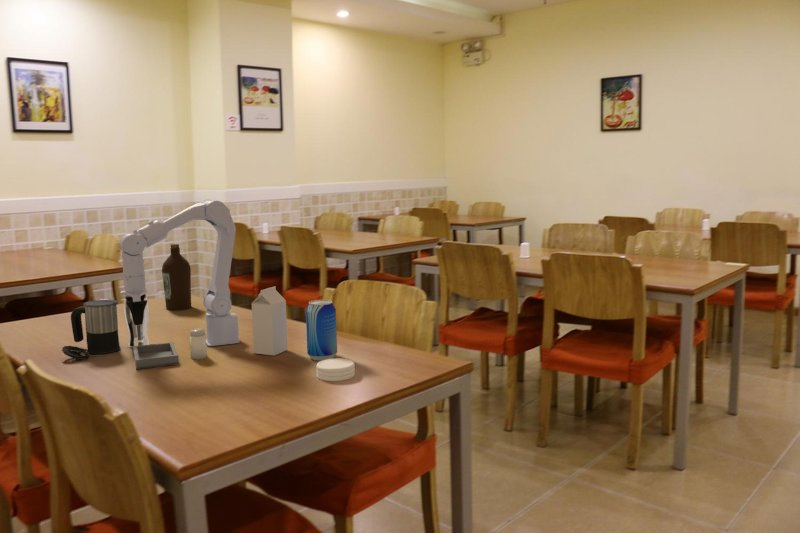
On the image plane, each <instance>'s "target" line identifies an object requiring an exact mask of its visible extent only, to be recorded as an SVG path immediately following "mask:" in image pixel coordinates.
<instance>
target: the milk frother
mask: <svg viewBox="0 0 800 533" xmlns="http://www.w3.org/2000/svg"><path fill="white" fill-rule="evenodd" d="M117 303H118V300H117V299H95V300H89V301H86V302H84V303H83V305H81V306H77V307H76V308H74V309H73V310H72V311H71V313H70V321H71V322H70V323H71V329H72V336H73V340H74V342H75V343H80V342H82V341H84V339H85V338H84V331H83V323H82V322H83V321H82V314H84V318H85V334H86V348H83V347H79V346H74V345H63V347H62V349H61V351H62V353H63V354H64V356H65V355H66V356H68V357H70V358H73V359H74V360H76V361H78V360H79V359H86V358H87V359H88V358H89V356H90V354H92V355H93V354H95V355H101V354H103V355H104V354H109V353H114V352H117V351H119V350H121V346H120V341H119V340H120V339H119V326H118V325H119V324H118V323H119V322H118V309H117V307H118V306H117Z"/></svg>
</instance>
